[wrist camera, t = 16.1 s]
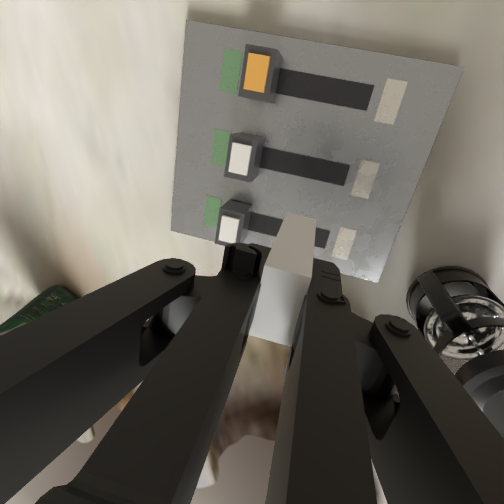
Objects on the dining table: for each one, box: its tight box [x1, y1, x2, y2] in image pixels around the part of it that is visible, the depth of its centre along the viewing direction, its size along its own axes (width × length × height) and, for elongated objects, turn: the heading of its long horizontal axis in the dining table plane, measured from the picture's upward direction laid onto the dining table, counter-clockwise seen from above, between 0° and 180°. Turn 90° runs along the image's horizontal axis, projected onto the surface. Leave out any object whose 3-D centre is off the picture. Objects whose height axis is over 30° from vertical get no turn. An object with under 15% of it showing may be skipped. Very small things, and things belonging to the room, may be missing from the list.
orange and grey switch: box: [238, 44, 282, 104], centre depth 32 cm, size 4×3×4 cm
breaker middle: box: [224, 132, 265, 183], centre depth 35 cm, size 4×3×4 cm
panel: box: [171, 20, 464, 283], centre depth 37 cm, size 24×28×2 cm
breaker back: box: [215, 200, 252, 246], centre depth 38 cm, size 4×3×4 cm
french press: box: [406, 266, 504, 438], centre depth 30 cm, size 12×9×23 cm
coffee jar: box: [0, 286, 78, 336], centre depth 47 cm, size 10×8×19 cm
